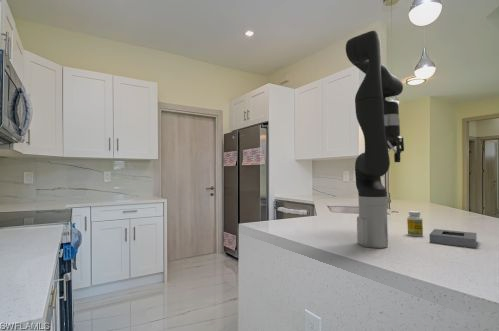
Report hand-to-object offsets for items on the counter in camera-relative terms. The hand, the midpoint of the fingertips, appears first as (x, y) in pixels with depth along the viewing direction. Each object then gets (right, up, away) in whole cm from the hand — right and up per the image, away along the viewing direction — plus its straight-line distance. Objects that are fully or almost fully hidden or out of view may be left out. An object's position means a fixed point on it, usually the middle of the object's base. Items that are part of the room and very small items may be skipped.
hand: (391, 162), depth 121 cm
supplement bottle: (+6, -30, -7) cm, 31 cm away
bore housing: (+13, -29, -19) cm, 37 cm away
